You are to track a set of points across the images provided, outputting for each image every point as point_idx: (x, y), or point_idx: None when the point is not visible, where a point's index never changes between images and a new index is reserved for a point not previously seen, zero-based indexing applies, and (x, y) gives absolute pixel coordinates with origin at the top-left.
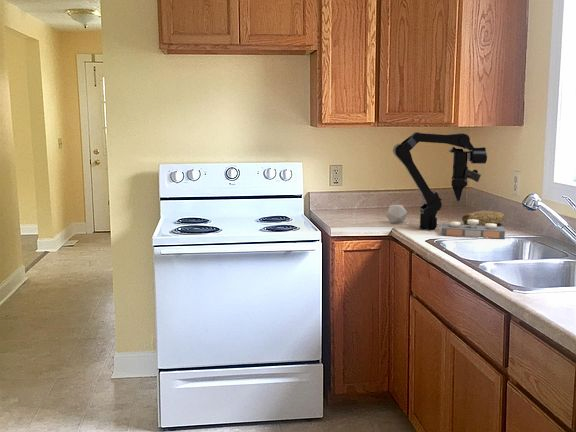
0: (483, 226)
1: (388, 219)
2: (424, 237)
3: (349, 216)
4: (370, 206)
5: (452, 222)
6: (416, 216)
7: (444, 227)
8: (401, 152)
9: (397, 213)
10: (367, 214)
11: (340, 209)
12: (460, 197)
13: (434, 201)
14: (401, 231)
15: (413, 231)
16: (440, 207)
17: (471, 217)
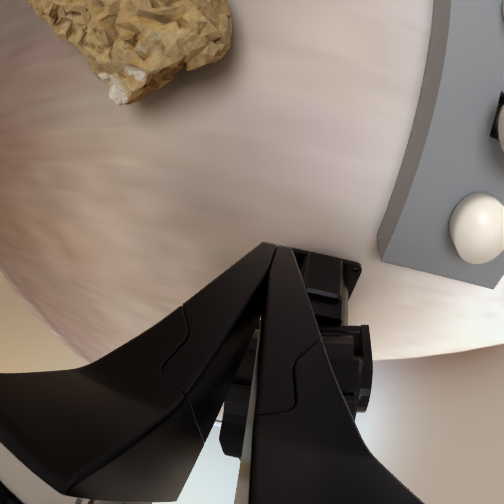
0: (478, 31)
1: None
2: (488, 319)
3: None
4: (28, 307)
5: (485, 249)
6: (58, 254)
7: (484, 275)
8: None
9: None
10: (107, 346)
11: (88, 359)
12: (300, 279)
13: (363, 411)
14: (373, 357)
15: (378, 333)
16: (352, 346)
17: (207, 42)
